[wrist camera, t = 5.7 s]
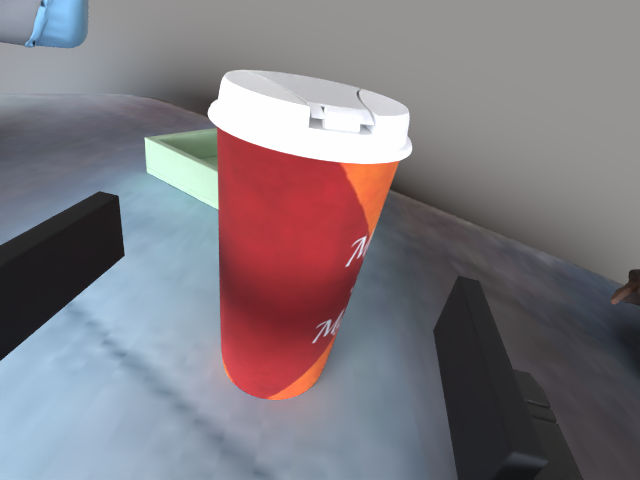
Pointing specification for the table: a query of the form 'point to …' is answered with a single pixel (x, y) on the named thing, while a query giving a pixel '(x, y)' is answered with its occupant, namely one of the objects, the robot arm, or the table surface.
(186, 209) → the table surface
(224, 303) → the paper cup
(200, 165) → the holder
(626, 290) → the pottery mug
